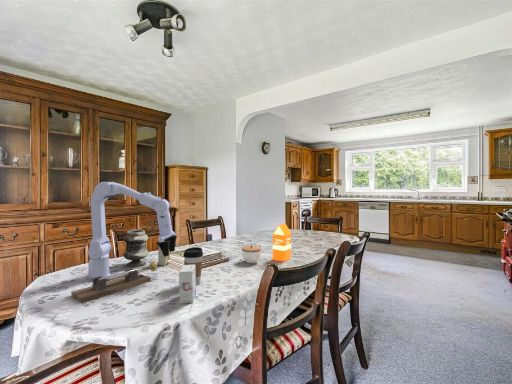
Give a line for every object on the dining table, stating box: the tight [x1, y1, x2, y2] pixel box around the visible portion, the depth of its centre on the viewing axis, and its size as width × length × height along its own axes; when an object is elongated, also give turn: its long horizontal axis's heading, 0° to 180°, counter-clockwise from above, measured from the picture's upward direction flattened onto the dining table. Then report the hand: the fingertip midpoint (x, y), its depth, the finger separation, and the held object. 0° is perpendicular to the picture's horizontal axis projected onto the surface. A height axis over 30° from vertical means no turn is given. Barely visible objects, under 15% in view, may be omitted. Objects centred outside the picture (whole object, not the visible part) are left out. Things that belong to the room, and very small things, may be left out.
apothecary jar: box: [123, 229, 149, 268], centre depth 142 cm, size 12×12×18 cm
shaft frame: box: [71, 267, 151, 304], centre depth 111 cm, size 10×27×6 cm, turn 143°
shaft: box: [98, 261, 159, 282], centre depth 116 cm, size 4×24×4 cm, turn 143°
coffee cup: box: [182, 246, 204, 286], centre depth 116 cm, size 8×8×15 cm
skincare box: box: [157, 245, 172, 266], centre depth 144 cm, size 6×4×12 cm
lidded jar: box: [241, 244, 262, 264], centre depth 149 cm, size 11×11×9 cm
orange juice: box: [272, 223, 292, 262], centre depth 156 cm, size 8×9×20 cm
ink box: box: [178, 264, 197, 304], centre depth 101 cm, size 9×5×12 cm, turn 5°
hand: (169, 253), depth 126 cm, fingers open, 7 cm apart
